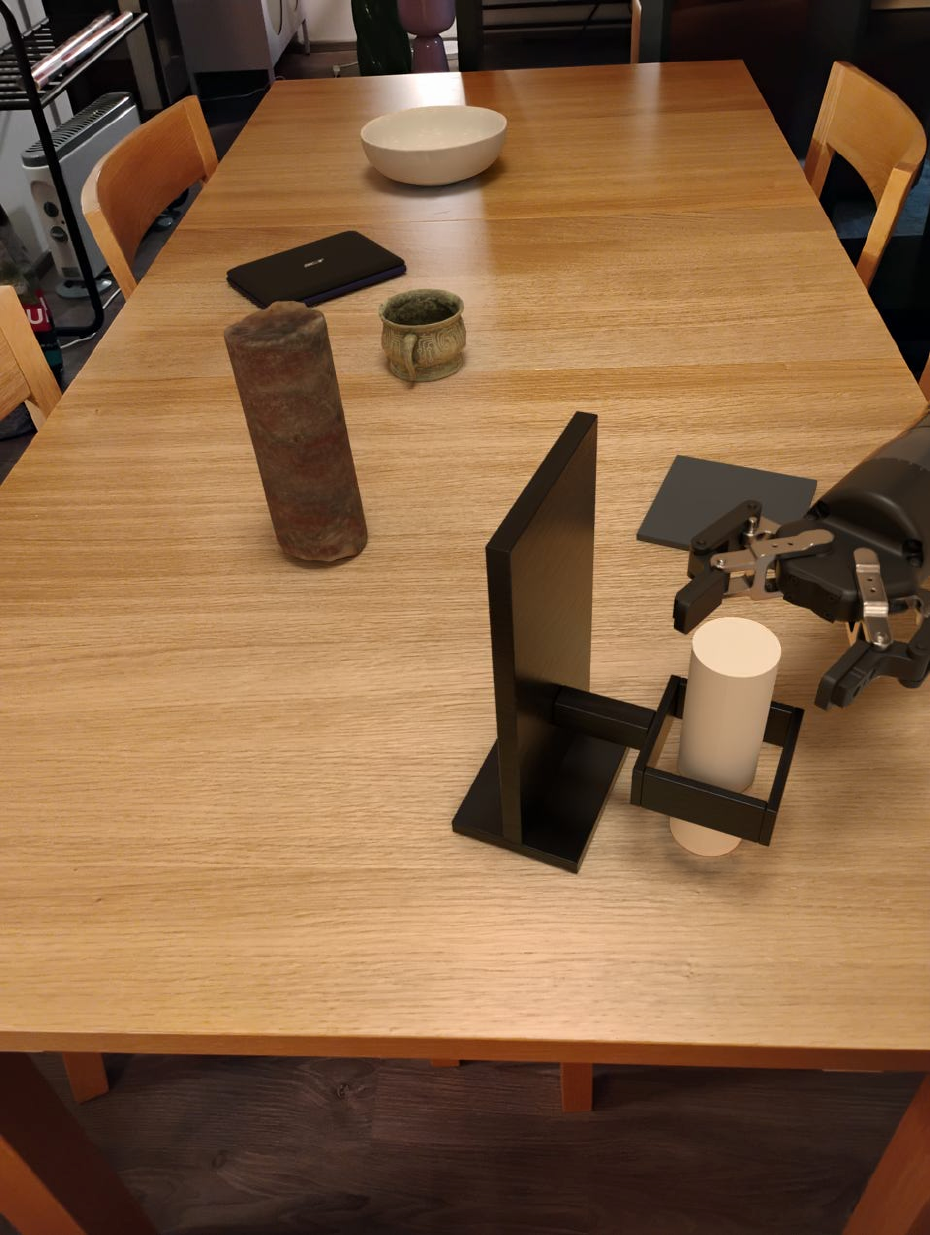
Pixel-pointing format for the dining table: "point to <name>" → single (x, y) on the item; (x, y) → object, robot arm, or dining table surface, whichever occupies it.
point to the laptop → (316, 270)
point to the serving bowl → (434, 143)
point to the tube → (725, 717)
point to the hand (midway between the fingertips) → (748, 657)
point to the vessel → (423, 333)
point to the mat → (719, 499)
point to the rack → (579, 690)
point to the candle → (298, 430)
